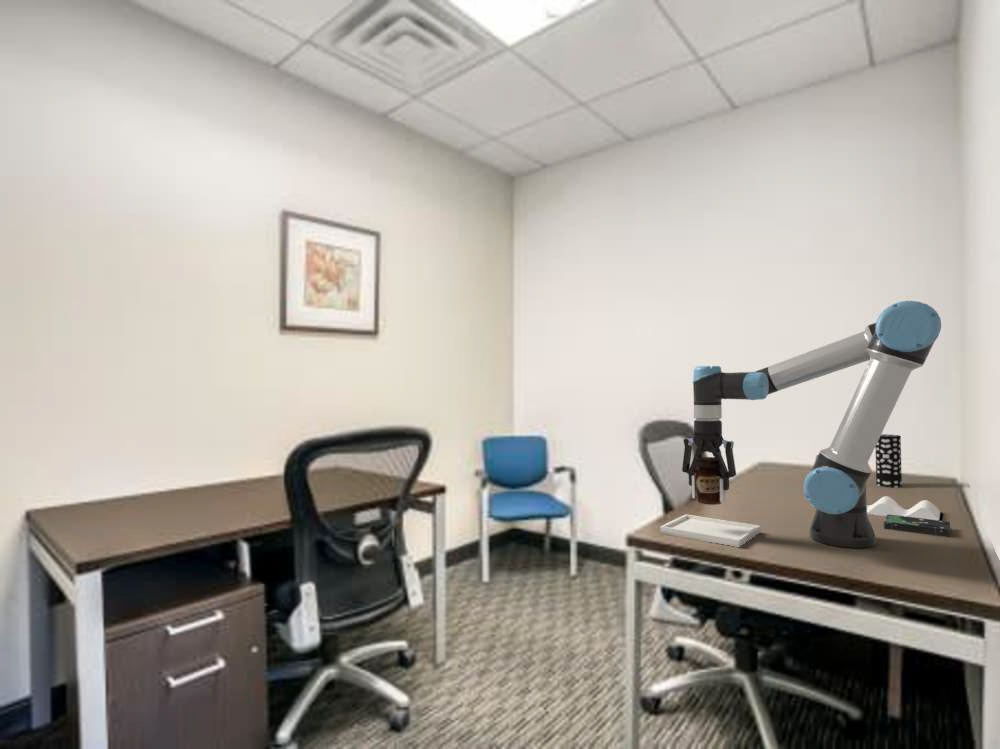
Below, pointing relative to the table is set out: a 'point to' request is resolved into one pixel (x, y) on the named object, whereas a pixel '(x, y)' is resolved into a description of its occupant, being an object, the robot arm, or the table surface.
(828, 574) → the table surface
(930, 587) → the table surface
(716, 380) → the robot arm
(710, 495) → the coffee cup
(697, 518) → the tray
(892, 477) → the white-spotted black cylinder
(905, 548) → the table surface
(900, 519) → the disk drive
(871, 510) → the white wavy piece
